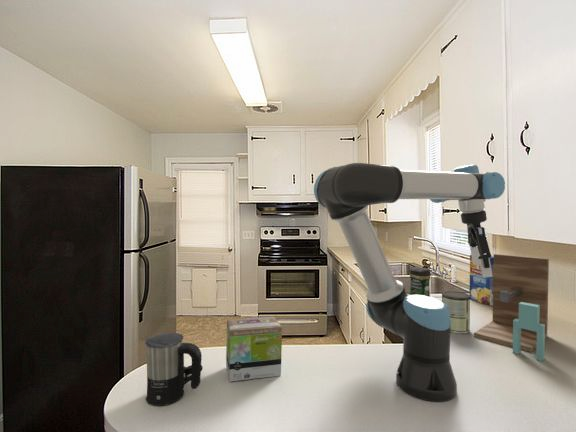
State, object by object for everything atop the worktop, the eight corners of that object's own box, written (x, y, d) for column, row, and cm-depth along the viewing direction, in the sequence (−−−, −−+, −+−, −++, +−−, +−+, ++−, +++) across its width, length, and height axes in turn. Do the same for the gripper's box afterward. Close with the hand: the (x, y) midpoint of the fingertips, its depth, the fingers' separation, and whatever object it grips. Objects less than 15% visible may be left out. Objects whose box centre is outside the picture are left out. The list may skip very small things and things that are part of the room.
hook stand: (531, 352, 112) (533, 265, 111) (473, 336, 125) (475, 258, 125) (547, 336, 126) (548, 258, 125) (494, 323, 140) (495, 253, 139)
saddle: (542, 361, 105) (543, 308, 105) (512, 353, 111) (513, 302, 111) (544, 358, 107) (545, 306, 107) (515, 350, 113) (516, 301, 113)
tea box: (229, 383, 91) (229, 330, 90) (225, 367, 100) (225, 318, 100) (282, 376, 95) (282, 325, 94) (274, 361, 104) (274, 314, 104)
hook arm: (507, 302, 119) (507, 292, 118) (499, 301, 120) (500, 291, 120) (522, 294, 130) (522, 285, 130) (514, 293, 132) (515, 284, 132)
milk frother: (142, 409, 79) (142, 348, 79) (150, 377, 94) (150, 325, 94) (204, 400, 83) (204, 341, 83) (202, 371, 98) (202, 321, 98)
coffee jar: (406, 302, 171) (406, 266, 170) (416, 300, 175) (416, 265, 175) (423, 307, 162) (423, 269, 162) (432, 305, 167) (433, 268, 166)
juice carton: (500, 304, 169) (501, 257, 168) (489, 305, 166) (490, 257, 166) (479, 298, 180) (480, 254, 180) (469, 299, 178) (469, 254, 177)
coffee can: (437, 324, 139) (438, 290, 139) (463, 325, 138) (463, 291, 138) (446, 333, 129) (447, 297, 128) (474, 334, 128) (475, 298, 127)
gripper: (496, 214, 100) (506, 281, 102) (475, 203, 123) (484, 258, 125) (468, 218, 102) (479, 284, 104) (453, 207, 126) (462, 261, 128)
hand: (482, 270), depth 115 cm, fingers open, 13 cm apart
